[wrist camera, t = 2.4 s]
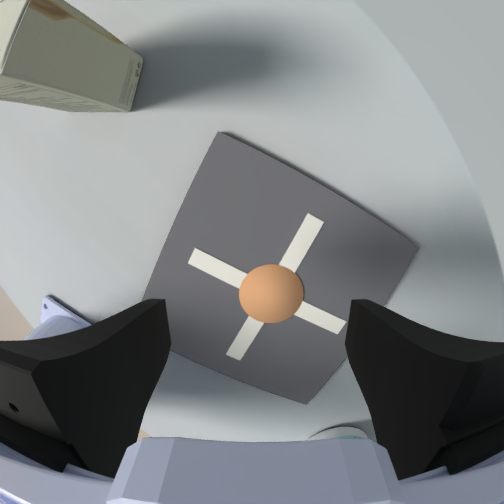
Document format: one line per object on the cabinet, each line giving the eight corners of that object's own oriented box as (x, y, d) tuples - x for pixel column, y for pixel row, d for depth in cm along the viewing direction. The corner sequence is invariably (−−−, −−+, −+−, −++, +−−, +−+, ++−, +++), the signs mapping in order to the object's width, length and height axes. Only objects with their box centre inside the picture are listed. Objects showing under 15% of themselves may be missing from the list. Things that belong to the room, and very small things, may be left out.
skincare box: (146, 57, 16) (45, -24, 5) (132, 113, 17) (4, 74, 6) (76, 61, 16) (-34, 17, 4) (63, 112, 17) (-61, 96, 6)
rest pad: (305, 399, 24) (306, 405, 23) (133, 326, 22) (130, 330, 21) (415, 245, 20) (419, 247, 19) (219, 132, 18) (217, 130, 17)
